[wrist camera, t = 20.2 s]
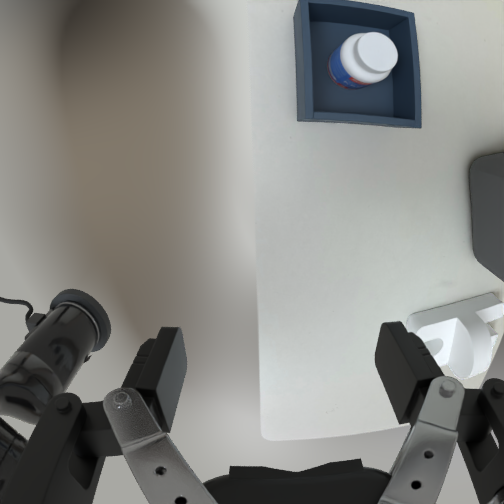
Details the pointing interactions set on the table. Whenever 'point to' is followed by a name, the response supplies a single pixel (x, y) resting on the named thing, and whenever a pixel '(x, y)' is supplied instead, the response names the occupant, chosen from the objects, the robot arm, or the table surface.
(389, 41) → the pill bottle
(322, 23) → the open box
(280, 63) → the table surface
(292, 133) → the table surface
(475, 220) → the alarm clock
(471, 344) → the white slotted bracket
